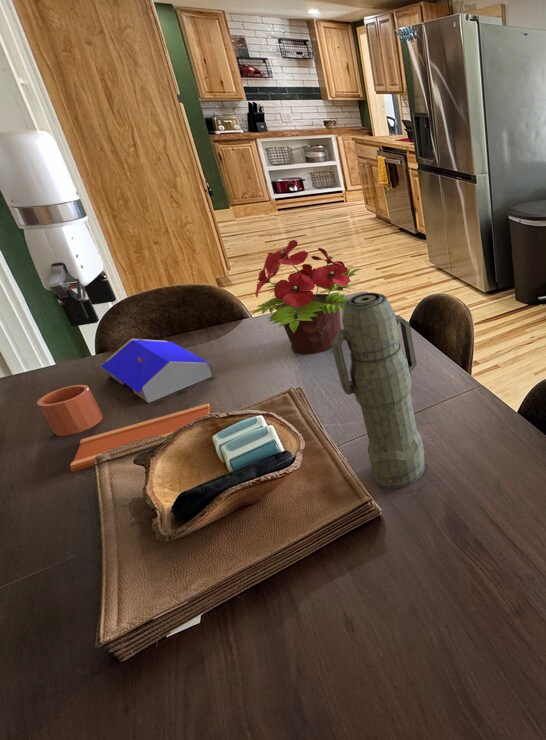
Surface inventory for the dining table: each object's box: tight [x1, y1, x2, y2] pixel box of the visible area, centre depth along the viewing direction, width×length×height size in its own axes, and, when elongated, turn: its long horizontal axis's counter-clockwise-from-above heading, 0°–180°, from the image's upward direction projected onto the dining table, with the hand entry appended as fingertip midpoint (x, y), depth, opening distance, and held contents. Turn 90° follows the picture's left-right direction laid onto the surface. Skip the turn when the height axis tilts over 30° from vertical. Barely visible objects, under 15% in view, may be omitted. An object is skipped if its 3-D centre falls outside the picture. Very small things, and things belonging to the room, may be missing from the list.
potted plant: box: [251, 239, 363, 355], centre depth 124 cm, size 30×27×30 cm
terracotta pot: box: [36, 384, 104, 437], centre depth 97 cm, size 7×7×8 cm
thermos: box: [331, 292, 426, 490], centre depth 80 cm, size 9×12×35 cm
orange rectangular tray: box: [69, 402, 211, 473], centre depth 96 cm, size 20×10×1 cm, turn 126°
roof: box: [100, 338, 213, 404], centre depth 114 cm, size 22×14×7 cm, turn 60°
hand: (95, 312), depth 80 cm, fingers open, 9 cm apart
